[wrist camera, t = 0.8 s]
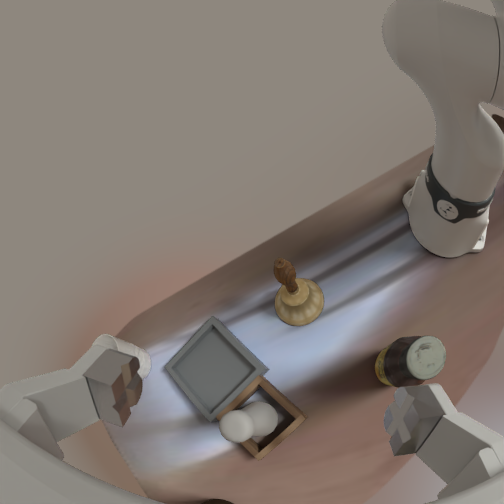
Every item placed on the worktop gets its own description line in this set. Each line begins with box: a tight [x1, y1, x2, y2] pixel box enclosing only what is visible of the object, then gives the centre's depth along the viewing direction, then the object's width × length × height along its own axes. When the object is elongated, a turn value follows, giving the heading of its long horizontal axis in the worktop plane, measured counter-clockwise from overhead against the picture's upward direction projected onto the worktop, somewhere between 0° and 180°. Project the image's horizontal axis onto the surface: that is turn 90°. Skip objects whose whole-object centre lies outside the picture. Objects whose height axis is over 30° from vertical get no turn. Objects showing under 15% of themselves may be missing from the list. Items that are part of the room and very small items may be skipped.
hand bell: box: [274, 258, 324, 326], centre depth 40 cm, size 8×8×16 cm
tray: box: [165, 316, 269, 422], centre depth 44 cm, size 13×13×2 cm
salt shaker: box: [219, 401, 278, 442], centre depth 34 cm, size 6×6×13 cm
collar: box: [216, 375, 308, 461], centre depth 38 cm, size 10×10×2 cm
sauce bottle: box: [375, 336, 446, 388], centre depth 28 cm, size 7×6×20 cm
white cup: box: [92, 334, 151, 379], centre depth 46 cm, size 8×8×10 cm
